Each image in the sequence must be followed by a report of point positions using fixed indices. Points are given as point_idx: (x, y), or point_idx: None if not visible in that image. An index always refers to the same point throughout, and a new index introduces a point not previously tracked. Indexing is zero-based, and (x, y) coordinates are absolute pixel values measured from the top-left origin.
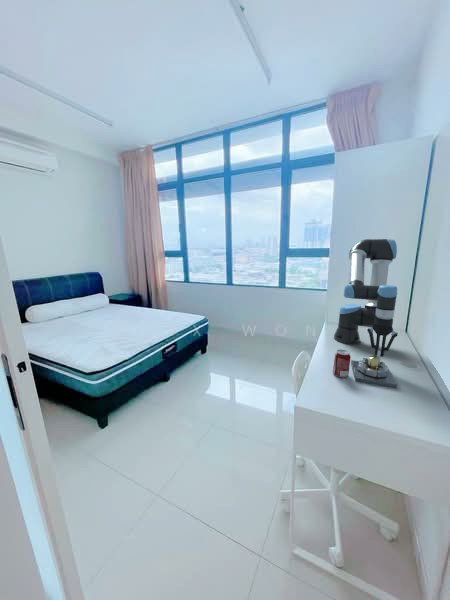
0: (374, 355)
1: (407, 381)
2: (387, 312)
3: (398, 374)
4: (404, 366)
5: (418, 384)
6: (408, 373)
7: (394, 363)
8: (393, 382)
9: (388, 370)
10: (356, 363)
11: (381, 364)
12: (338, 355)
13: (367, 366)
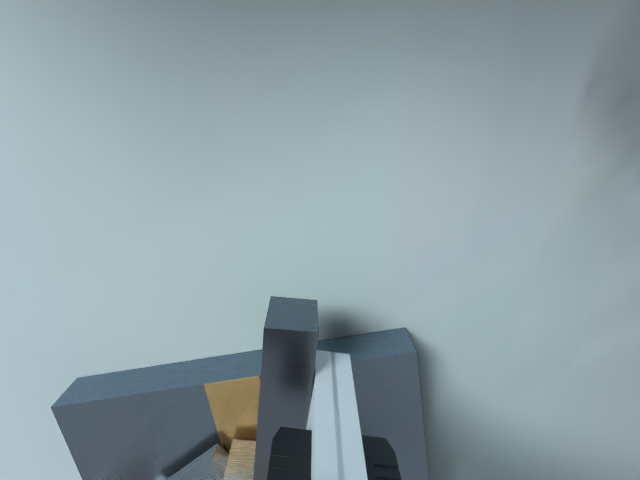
0: (277, 330)
1: (538, 462)
2: None
3: (497, 380)
4: (612, 161)
5: (607, 468)
6: (596, 317)
7: (520, 129)
8: None
9: (416, 451)
10: (118, 454)
11: None
12: None
13: None
